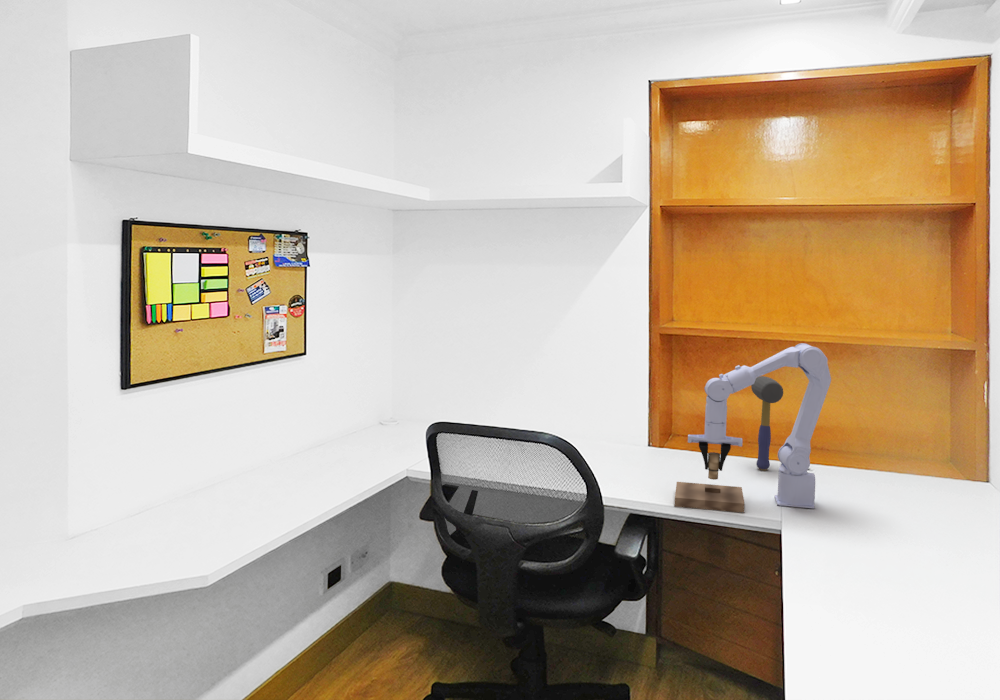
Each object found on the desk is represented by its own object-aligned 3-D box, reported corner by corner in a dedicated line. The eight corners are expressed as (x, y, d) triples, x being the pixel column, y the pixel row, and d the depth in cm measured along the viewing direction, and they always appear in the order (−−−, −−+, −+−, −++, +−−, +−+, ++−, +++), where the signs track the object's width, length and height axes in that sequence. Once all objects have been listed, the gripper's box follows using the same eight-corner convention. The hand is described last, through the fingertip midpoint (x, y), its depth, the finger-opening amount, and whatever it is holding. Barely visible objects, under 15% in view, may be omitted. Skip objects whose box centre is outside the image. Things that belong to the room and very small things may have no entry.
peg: (719, 477, 203) (720, 452, 202) (718, 480, 200) (719, 455, 199) (707, 476, 204) (708, 451, 203) (706, 479, 201) (707, 454, 200)
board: (741, 495, 205) (741, 487, 205) (744, 512, 191) (744, 503, 191) (676, 489, 210) (676, 481, 210) (674, 506, 196) (674, 497, 196)
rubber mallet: (780, 475, 225) (785, 381, 221) (756, 475, 226) (761, 380, 222) (768, 464, 237) (773, 374, 234) (745, 464, 238) (750, 374, 234)
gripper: (742, 420, 201) (740, 467, 203) (688, 416, 205) (687, 463, 207) (743, 425, 195) (741, 474, 196) (688, 422, 199) (686, 469, 200)
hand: (713, 469), depth 201 cm, fingers closed on peg, 3 cm apart
